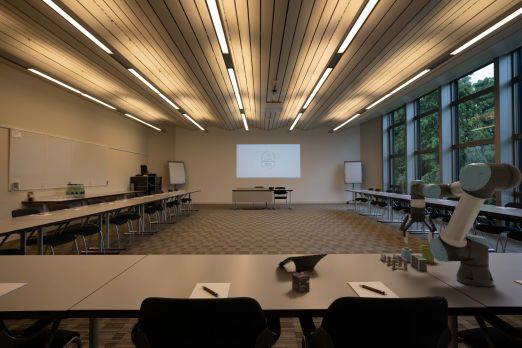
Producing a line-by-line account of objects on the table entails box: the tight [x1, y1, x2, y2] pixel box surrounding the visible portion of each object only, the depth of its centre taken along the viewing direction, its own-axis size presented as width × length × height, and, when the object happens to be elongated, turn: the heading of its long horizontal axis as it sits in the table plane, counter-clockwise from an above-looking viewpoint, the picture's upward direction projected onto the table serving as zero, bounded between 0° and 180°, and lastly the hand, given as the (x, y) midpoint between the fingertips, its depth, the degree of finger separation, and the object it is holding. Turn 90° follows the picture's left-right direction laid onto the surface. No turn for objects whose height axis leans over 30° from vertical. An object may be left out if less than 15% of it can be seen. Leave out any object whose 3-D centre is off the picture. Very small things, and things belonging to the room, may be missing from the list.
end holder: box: [380, 252, 400, 263], centre depth 189 cm, size 8×8×4 cm
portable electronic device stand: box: [277, 253, 328, 273], centre depth 169 cm, size 23×23×9 cm
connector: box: [400, 246, 413, 263], centre depth 189 cm, size 5×5×8 cm
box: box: [291, 272, 310, 294], centre depth 138 cm, size 6×6×7 cm
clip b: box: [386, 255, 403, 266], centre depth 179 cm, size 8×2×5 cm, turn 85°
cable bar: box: [410, 253, 428, 271], centre depth 174 cm, size 4×12×6 cm, turn 175°
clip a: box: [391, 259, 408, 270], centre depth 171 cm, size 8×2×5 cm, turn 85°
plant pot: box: [419, 244, 435, 263], centre depth 188 cm, size 9×9×9 cm
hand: (418, 242), depth 175 cm, fingers open, 13 cm apart
